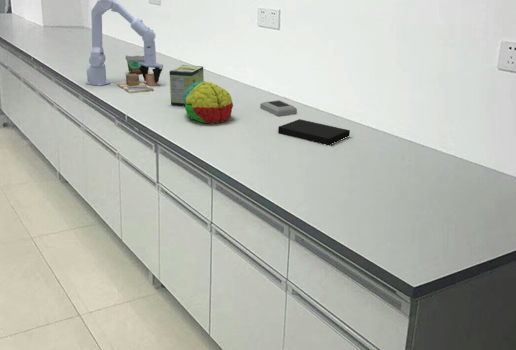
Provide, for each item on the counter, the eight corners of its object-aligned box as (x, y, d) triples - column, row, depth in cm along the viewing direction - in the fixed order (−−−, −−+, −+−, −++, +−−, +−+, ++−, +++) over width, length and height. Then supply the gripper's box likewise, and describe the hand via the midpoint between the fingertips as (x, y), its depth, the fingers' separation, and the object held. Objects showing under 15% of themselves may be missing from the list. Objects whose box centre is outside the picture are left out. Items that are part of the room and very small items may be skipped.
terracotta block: (145, 83, 309) (145, 74, 307) (154, 82, 311) (153, 73, 309) (148, 85, 305) (148, 75, 303) (157, 84, 307) (156, 74, 306)
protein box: (204, 99, 280) (203, 66, 274) (192, 107, 266) (191, 72, 260) (183, 97, 282) (182, 64, 277) (170, 105, 268) (168, 71, 263)
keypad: (279, 98, 269) (297, 106, 256) (278, 106, 270) (296, 114, 258) (260, 101, 264) (277, 108, 252) (260, 109, 266) (277, 117, 253)
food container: (127, 75, 328) (125, 57, 324) (126, 73, 333) (125, 55, 330) (149, 74, 331) (148, 56, 327) (148, 72, 336) (147, 54, 333)
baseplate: (117, 85, 305) (116, 73, 303) (139, 82, 311) (139, 71, 309) (129, 93, 289) (128, 80, 287) (153, 90, 295) (152, 78, 293)
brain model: (173, 113, 255) (173, 78, 249) (212, 107, 265) (212, 73, 259) (200, 129, 237) (200, 92, 231) (241, 122, 247) (242, 87, 241)
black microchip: (328, 146, 217) (329, 138, 216) (278, 134, 231) (278, 126, 230) (349, 137, 228) (349, 130, 227) (299, 126, 241) (299, 118, 240)
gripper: (133, 54, 303) (135, 81, 308) (156, 57, 296) (157, 84, 301) (142, 52, 308) (144, 78, 313) (165, 55, 302) (166, 81, 307)
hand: (151, 81), depth 308 cm, fingers closed on terracotta block, 6 cm apart
